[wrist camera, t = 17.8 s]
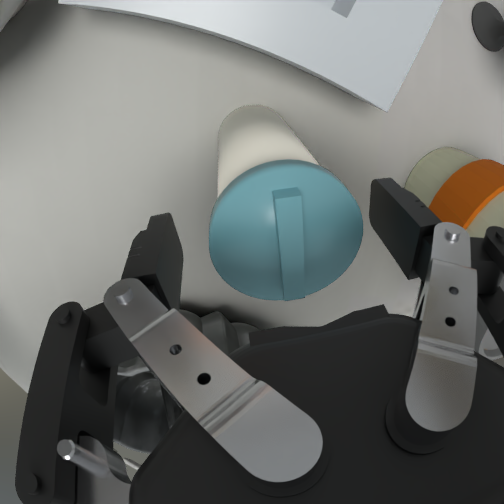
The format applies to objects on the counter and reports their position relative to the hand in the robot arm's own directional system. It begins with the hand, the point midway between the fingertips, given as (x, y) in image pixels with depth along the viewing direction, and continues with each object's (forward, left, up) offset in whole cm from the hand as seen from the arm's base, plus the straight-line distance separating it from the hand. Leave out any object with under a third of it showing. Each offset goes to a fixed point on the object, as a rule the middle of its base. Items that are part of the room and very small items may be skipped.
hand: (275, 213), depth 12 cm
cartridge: (0, 0, -12) cm, 12 cm away
